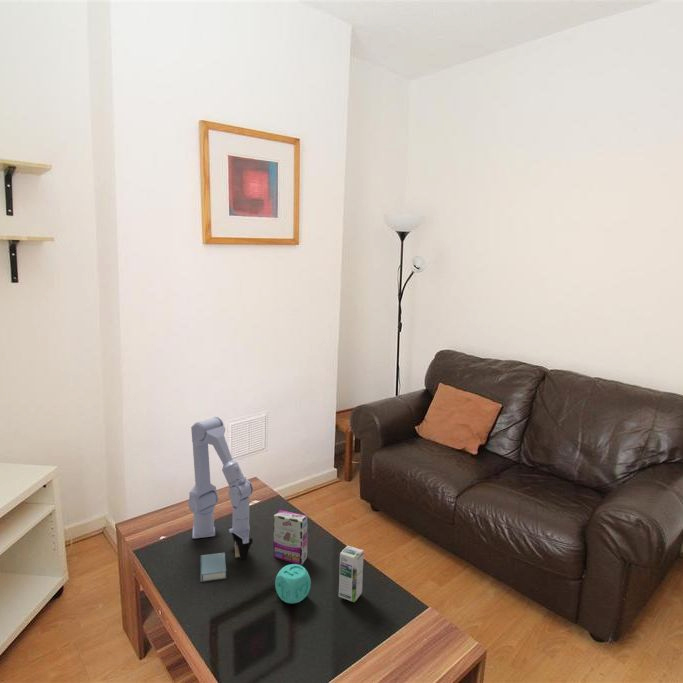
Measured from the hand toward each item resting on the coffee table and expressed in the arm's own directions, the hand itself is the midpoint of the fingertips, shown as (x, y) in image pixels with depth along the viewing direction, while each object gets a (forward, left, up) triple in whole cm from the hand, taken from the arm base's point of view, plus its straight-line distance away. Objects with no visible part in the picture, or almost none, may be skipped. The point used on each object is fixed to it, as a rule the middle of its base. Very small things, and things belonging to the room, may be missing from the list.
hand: (240, 552), depth 170 cm
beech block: (0, 0, -2) cm, 2 cm away
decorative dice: (+25, +14, -2) cm, 29 cm away
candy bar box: (+6, +16, -2) cm, 18 cm away
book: (+6, -10, -2) cm, 11 cm away
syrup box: (+29, +32, -2) cm, 43 cm away
